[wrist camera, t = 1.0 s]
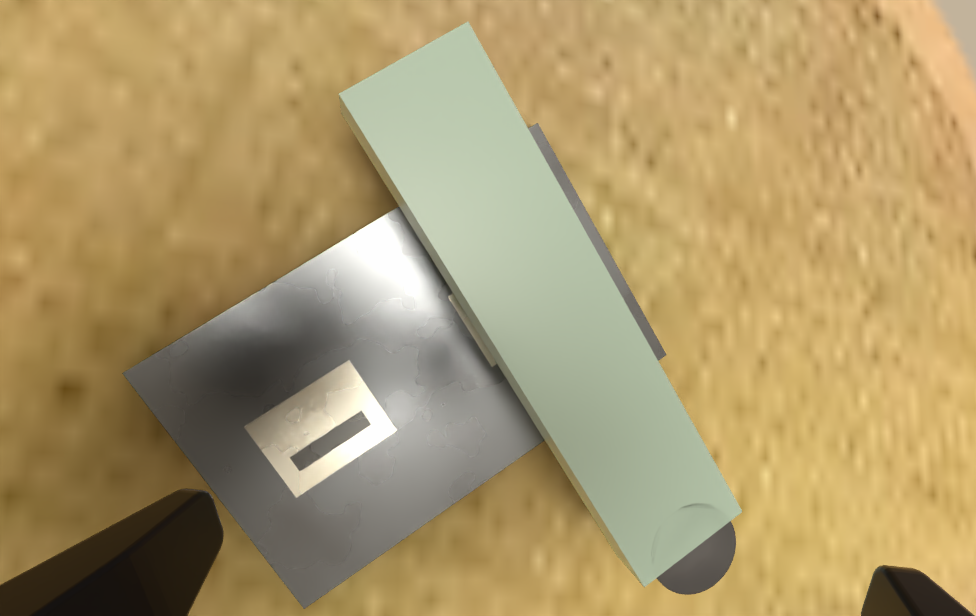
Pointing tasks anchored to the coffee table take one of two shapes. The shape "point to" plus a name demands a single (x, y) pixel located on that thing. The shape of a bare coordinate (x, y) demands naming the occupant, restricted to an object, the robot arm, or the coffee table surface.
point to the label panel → (347, 401)
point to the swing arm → (546, 307)
